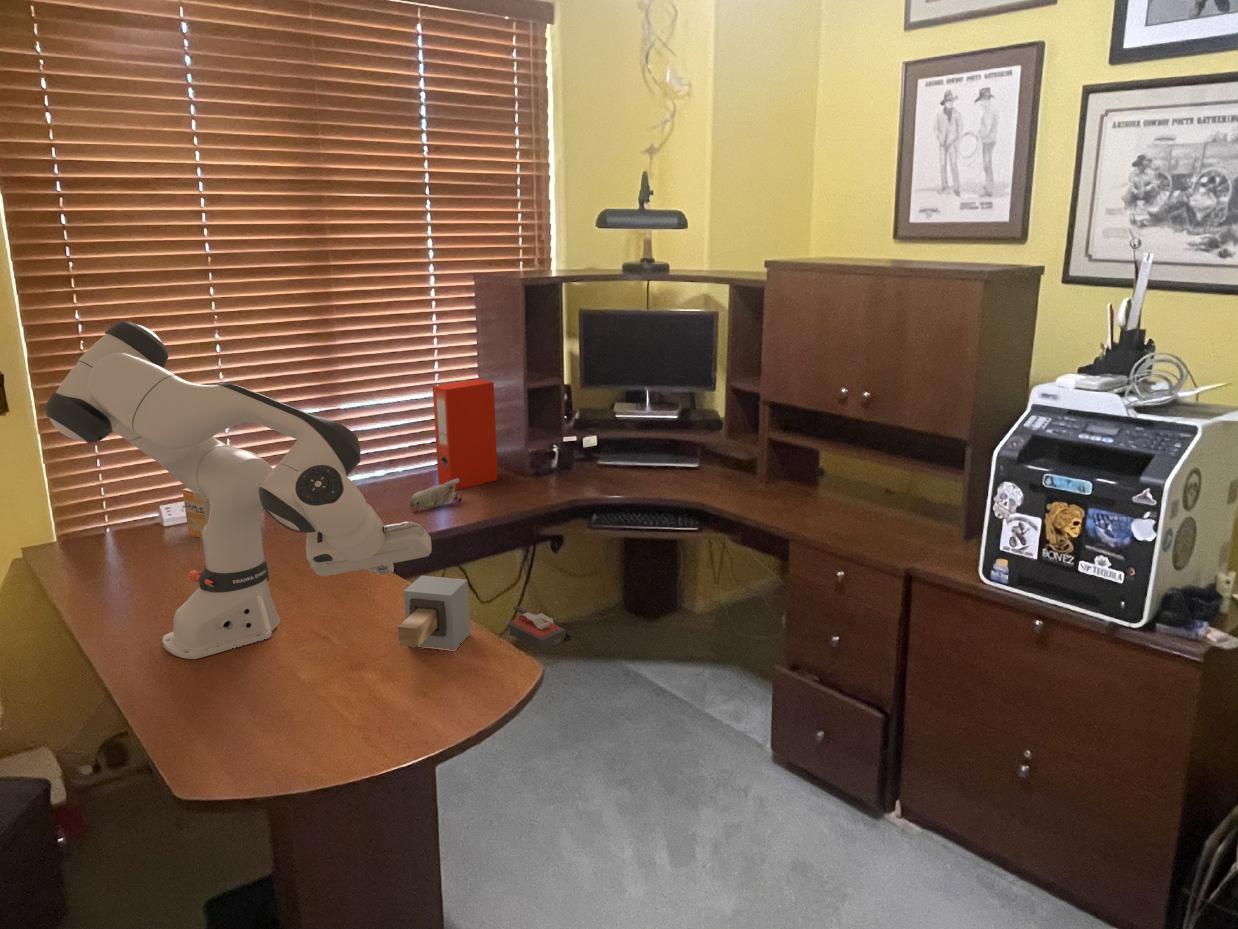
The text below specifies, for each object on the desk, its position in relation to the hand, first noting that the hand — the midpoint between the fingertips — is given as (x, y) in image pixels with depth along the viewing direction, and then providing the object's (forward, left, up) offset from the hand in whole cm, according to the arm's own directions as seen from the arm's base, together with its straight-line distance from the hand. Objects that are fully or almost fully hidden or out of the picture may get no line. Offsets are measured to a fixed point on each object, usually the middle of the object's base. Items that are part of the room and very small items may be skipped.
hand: (385, 570), depth 162 cm
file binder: (+93, +88, -22) cm, 129 cm away
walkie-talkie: (+31, -5, -23) cm, 38 cm away
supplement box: (+16, +106, -22) cm, 109 cm away
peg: (+10, +4, -17) cm, 20 cm away
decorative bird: (+70, +76, -22) cm, 106 cm away
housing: (+16, +7, -22) cm, 28 cm away
